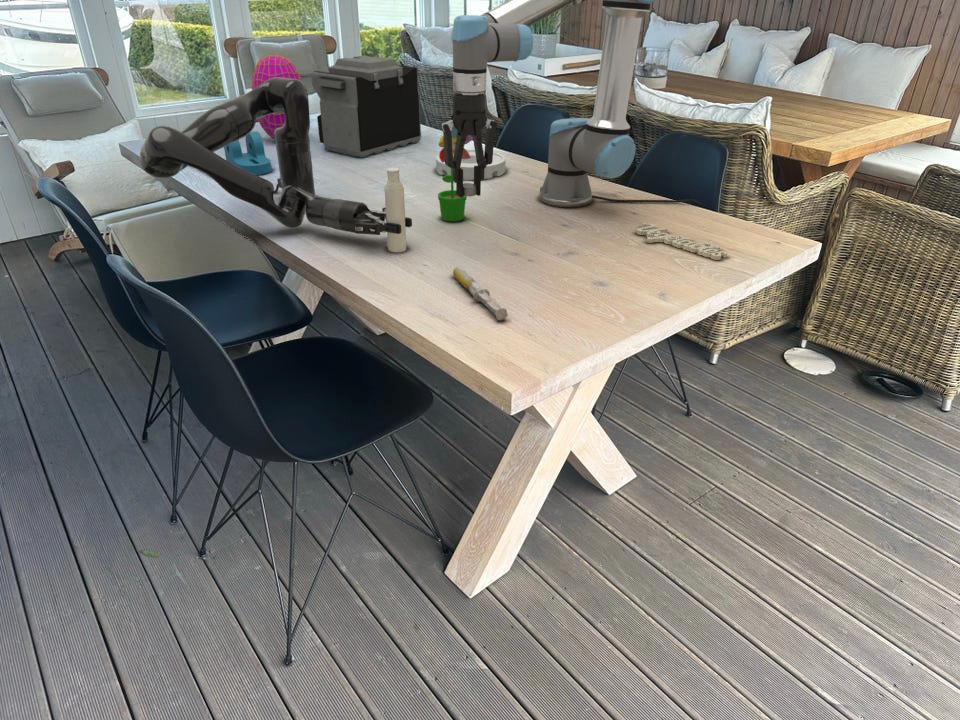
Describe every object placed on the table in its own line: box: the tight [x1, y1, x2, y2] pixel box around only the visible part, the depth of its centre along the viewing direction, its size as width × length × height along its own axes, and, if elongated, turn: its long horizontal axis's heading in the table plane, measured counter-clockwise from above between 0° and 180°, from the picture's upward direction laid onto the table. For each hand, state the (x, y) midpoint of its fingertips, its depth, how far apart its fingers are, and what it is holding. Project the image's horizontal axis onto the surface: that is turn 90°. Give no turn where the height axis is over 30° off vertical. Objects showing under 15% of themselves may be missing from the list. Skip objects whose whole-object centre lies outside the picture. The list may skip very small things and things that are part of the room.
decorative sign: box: [636, 222, 728, 261], centre depth 173 cm, size 26×1×10 cm
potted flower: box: [437, 125, 473, 222], centre depth 182 cm, size 9×8×25 cm
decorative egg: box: [251, 54, 303, 140], centre depth 257 cm, size 19×19×30 cm
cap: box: [463, 182, 477, 197], centre depth 165 cm, size 4×4×2 cm
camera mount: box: [223, 131, 272, 176], centre depth 226 cm, size 18×10×10 cm, turn 35°
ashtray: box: [435, 149, 507, 181], centre depth 229 cm, size 23×23×4 cm
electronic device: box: [310, 55, 422, 159], centre depth 250 cm, size 37×22×30 cm, turn 144°
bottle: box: [384, 167, 407, 253], centre depth 163 cm, size 4×4×20 cm
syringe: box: [452, 266, 509, 321], centre depth 145 cm, size 25×4×3 cm, turn 21°
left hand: (405, 226), depth 164 cm, fingers closed on bottle, 4 cm apart
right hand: (468, 194), depth 166 cm, fingers closed on cap, 4 cm apart
